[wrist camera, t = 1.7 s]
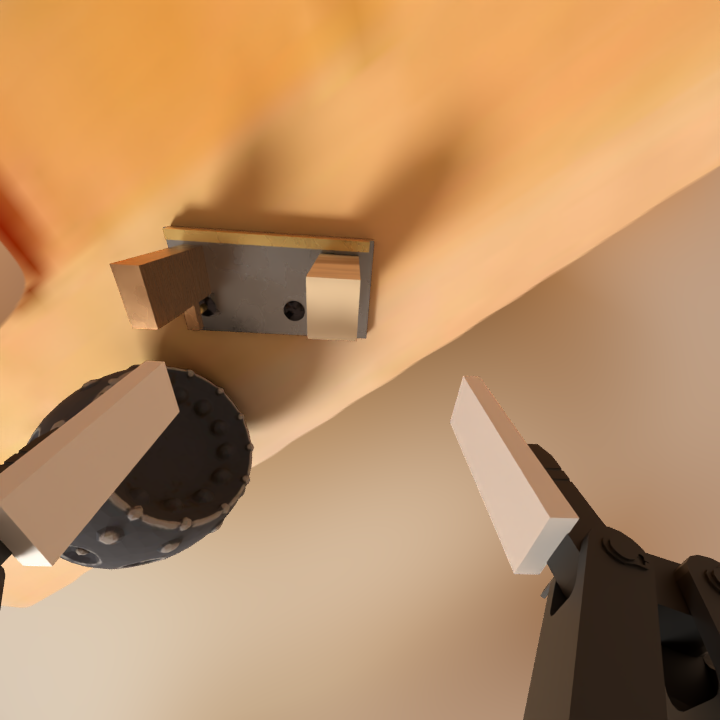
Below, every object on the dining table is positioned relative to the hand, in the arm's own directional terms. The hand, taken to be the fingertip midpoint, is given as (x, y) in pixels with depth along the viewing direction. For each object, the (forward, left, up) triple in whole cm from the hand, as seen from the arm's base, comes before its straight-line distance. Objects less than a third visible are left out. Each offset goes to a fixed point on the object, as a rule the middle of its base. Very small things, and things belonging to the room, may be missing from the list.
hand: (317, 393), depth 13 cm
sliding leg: (+1, 0, -21) cm, 21 cm away
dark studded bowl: (+18, -19, -22) cm, 35 cm away
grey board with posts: (+1, -7, -22) cm, 23 cm away
